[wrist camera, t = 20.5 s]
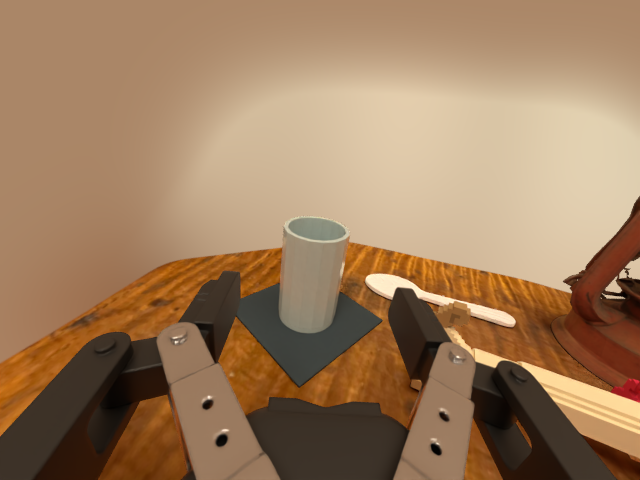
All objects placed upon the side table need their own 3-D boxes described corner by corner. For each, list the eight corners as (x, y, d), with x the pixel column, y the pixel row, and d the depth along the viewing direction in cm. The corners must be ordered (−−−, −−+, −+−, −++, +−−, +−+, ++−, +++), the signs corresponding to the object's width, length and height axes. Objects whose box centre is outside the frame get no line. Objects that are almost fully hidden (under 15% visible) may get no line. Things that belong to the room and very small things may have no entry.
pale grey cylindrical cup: (303, 343, 24) (316, 248, 19) (267, 308, 27) (270, 222, 23) (345, 316, 28) (362, 233, 23) (308, 289, 31) (318, 212, 27)
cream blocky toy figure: (400, 424, 20) (1122, 804, 9) (424, 336, 16) (1632, 780, 6) (420, 341, 28) (810, 488, 17) (439, 271, 24) (939, 399, 14)
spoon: (521, 338, 28) (524, 335, 28) (361, 290, 32) (362, 287, 32) (506, 309, 33) (508, 306, 32) (368, 271, 37) (369, 268, 37)
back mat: (299, 387, 20) (299, 386, 20) (226, 305, 27) (226, 304, 27) (382, 321, 28) (382, 320, 28) (309, 271, 35) (309, 270, 35)
